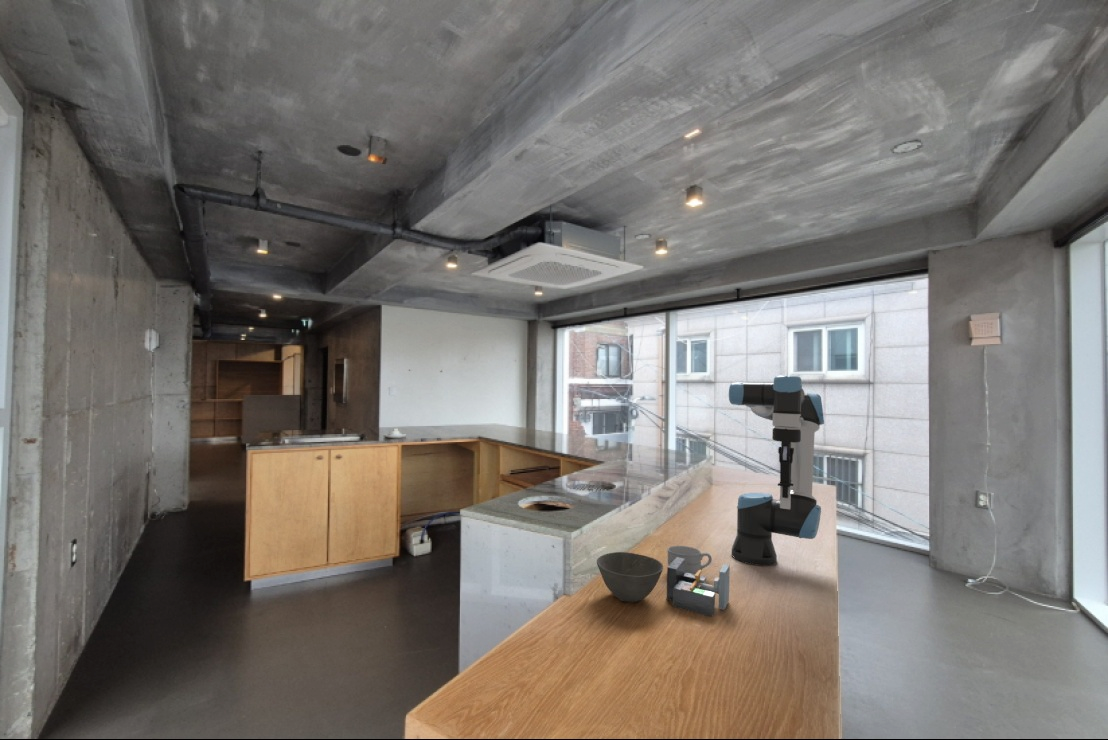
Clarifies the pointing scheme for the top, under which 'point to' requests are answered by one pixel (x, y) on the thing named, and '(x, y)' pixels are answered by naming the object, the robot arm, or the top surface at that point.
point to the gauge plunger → (720, 586)
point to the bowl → (629, 574)
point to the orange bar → (696, 579)
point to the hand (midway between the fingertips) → (785, 508)
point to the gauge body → (688, 590)
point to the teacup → (688, 558)
